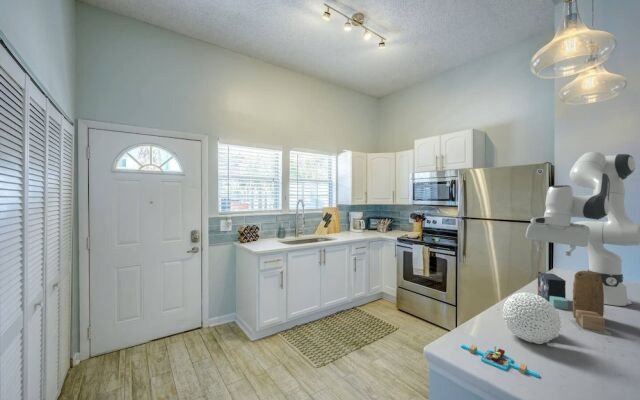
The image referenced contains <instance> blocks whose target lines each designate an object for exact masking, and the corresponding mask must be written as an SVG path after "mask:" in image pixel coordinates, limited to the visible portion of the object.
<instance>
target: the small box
mask: <svg viewBox="0 0 640 400" xmlns="http://www.w3.org/2000/svg"><path fill="white" fill-rule="evenodd" d="M537 295H539V296H541V297H543V298H545V299H546V300H547V301H548V302H550V296H554V297H562V298H565V299H566V297H567V296H566V280H565V279H563V278H562V277H560V276H558V275H557V274H556V273H549V272H537ZM566 300H567V299H566Z"/></svg>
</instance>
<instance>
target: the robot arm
mask: <svg viewBox="0 0 640 400" xmlns="http://www.w3.org/2000/svg"><path fill="white" fill-rule="evenodd" d="M635 169H636V161H635V158H634V157H633V156H632V155H630V154H629V153H628V154H627V153H619V154H615V155H614V154H612V155H605V154H603V153H601V152H597V151H589V152H588V151H587V152H585V153H584V154H582V155H580V156H579V158H578V159H577V160H576V161H575V163H574V164H573V166H572V167H571V169H570V171H569V179H570V180H571V181H572V183H573V184H574V185H576V186H579V187H582V188H588V189H593V190H592V194H590V195H573V193H574V192H573V191H574V190H573V187H572V186H571V185H566V184H565V185H563V184H562V185H559V184H558V185H551V186H549V188H548V189H547V192H546V196H545V211H544V212H543V213H544V214H543V216H539V217H533V218H531V219H530V223H529V225H528V226H527V228H526V232H525V238H526V240H532V241H534V244H535V246H536V250H537V252H539V253H540V252H542V251H543V247H541V246H540V245H539V244H540V242H545V243H546V242H547V243H553V244H560V245H566V246H567V245H569V249H570V250H567V251H566V250H565V256H567V257H571V256H572V252H573V251H575V250H576V247H583V248H584V249H585V251H586V254H587V259H588V269H587V271H591V272H596V273H600V274H601V276H602V283H603V291H604V305H610V306H618V307H621V306H622V307H624V306H627V305H633V304H632V301H630V300H629V297H628V289H627V286H626V285H625V284H624V283H623V282H624V275H623V273H622V267H623V266H622V265H623V264H622V263H623V262H622V258H621V257H620V256H619V255H618V254H617V253H614V252H612V251H610V250H609V249H606V247H605V246H604V245H614V246H624V247H628V246H630V247H632V246H640V225H639V224H638V223H636V222H634V221H633V220H631V218H629V217H628V215H627V213H626V210H625V197H626V196H625V192H626V191H625V184H624V180H625V179H627V178H628V177H629V176H630V175H632V174H633V172H634V171H635ZM572 218H578V219H579V218H581V219H589V220H580V221H574V222H573V223H572ZM603 218H606V219H607V220H606V221H601V219H603ZM598 220H600V221H598Z"/></svg>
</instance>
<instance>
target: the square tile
mask: <svg viewBox="0 0 640 400" xmlns="http://www.w3.org/2000/svg"><path fill="white" fill-rule="evenodd" d="M569 322H570V323H572V324H573V325H574V326H575V327H576V328H577V329H578V330H579V331H586V332H591V333H597V334H603V335H609V336H613V334H612V333H611V332H610V331H608V330H607V329H606V328H605V332H600V331H594V330H588V329H583V328H581V327H580V326H579V325H578V324H577V323H576V320H573V319H569Z"/></svg>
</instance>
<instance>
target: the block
mask: <svg viewBox="0 0 640 400" xmlns="http://www.w3.org/2000/svg"><path fill="white" fill-rule="evenodd" d="M572 286H573V288H572V315H573V318H574V319H576V310H584V311H591V312H596V313H598V314H599V315H601V316H602V317H603V318H604V313H605V312H604V311H605V310H604V309H605V307H604V306H605V304H604V291H603V283H602V276H601V274H600V273H596V272H591V271H588V270H578V271H577V272H576V273H574V280H573V285H572Z"/></svg>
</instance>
